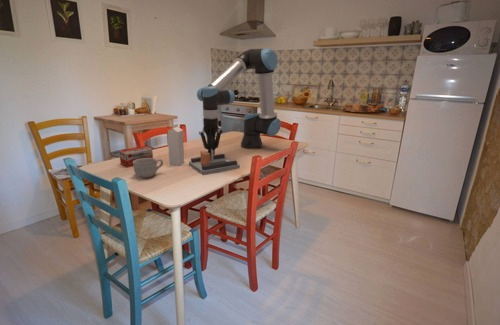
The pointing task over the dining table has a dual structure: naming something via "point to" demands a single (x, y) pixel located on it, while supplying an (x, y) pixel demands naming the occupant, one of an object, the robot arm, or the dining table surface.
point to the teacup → (146, 167)
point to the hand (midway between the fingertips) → (211, 160)
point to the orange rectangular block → (205, 158)
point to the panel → (198, 167)
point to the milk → (175, 146)
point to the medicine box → (134, 155)
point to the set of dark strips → (216, 165)
